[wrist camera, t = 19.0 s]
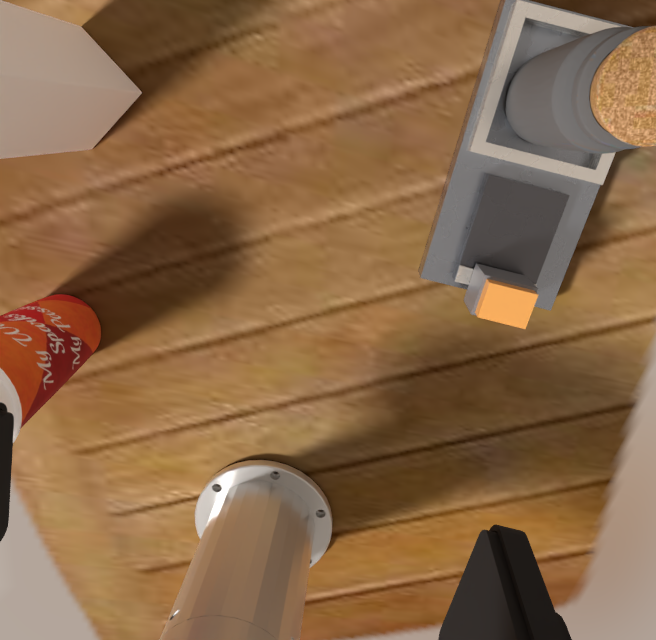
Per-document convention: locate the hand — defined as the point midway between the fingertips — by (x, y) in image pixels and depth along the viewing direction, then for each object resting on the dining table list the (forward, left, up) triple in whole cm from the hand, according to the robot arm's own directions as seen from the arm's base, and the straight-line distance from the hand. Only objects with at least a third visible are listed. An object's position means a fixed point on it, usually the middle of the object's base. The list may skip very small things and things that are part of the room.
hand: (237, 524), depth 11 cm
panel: (+8, -12, -34) cm, 37 cm away
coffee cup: (-14, +20, -34) cm, 42 cm away
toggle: (-1, -12, -31) cm, 33 cm away
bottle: (+12, -12, -32) cm, 37 cm away
